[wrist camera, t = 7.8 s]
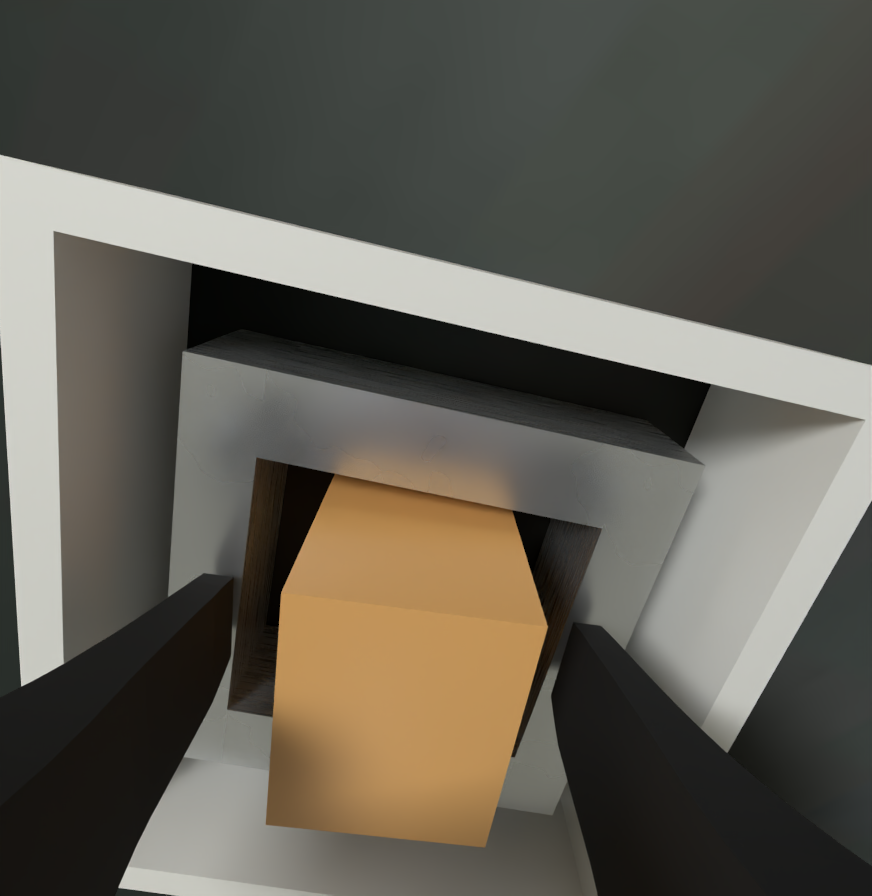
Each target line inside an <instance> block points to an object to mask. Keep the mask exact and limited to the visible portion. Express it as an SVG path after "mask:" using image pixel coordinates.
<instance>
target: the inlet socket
mask: <svg viewBox="0 0 872 896" xmlns="http://www.w3.org/2000/svg"><path fill="white" fill-rule="evenodd" d="M288 464H291V465H296V466H300V467H305V468H310V469H315V470H320V471H325V472H330V473H335V474H339V475H344V476H349V477H354V478H359V479H364V480H369V481H373V482H378V483H383V484H388V485H393V486H398V487H403V488H408V489H412V490H417V491H422V492H427V493H432V494H437V495H442V496H446V497H451V498H456V499H461V500H466V501H471V502H476V503H481V504H485V505H490V506H495V507H500V508H505V509H510V510H515V511H519V512H524V513H529V514H534V515H539V516H544V517H549V518H551V520H550V523H549V526H548V529H547V532H546V535H545V538H544V541H543V543H542V546H541V549H540V552H539V555H538V558H537V561H536V564H535V567H534V570H533V573H532V577H533V580H534V583H535V586H536V590H537V593H538V596H539V600H540V603H541V606H542V609H543V613H544V616H545V619H546V622H547V626H548V628H547V632H546V635H545V639H544V643H543V646H542V650H541V653H540V657H539V660H538V664H537V667H536V671H535V674H534V678H533V681H532V685H531V688H530V692H529V695H528V699H527V702H526V706H525V709H524V713H523V716H522V720H521V723H520V727H519V730H518V734H517V737H516V741H515V744H514V748H513V751H512V755H511V758H510V762H509V765H508V769H507V772H506V776H505V779H504V783H503V786H502V790H501V793H500V797H499V800H498V804H497V807H502V808H509V809H515V810H521V811H527V812H534V813H540V814H546V815H553V813H554V810H555V808H556V806H557V804H558V801H559V799H560V797H561V794H562V792H563V790H564V788H565V785H566V783H567V777H566V773H565V770H564V766H563V762H562V758H561V755H560V751H559V747H558V742H557V736H556V729H555V723H554V716H553V709H552V701H551V693H552V690H553V687H554V683H555V680H556V677H557V673H558V670H559V667H560V664H561V660H562V657H563V654H564V651H565V647H566V644H567V641H568V638H569V634H570V631H571V628H572V624H573V622H577V623H584V624H592V625H600V626H602V627H603V628H604V629H605V630H606V631H607V632H608V633H609V634H610V635H611V636H612V637H613V638H614V639H615V640H616V641H617V642H618V643H619V645H620V646H621V647H622V648H623V649H624V650H625V649H626V646H627V644H628V642H629V639H630V637H631V635H632V633H633V630H634V628H635V626H636V623H637V621H638V619H639V617H640V614H641V612H642V610H643V607H644V605H645V603H646V601H647V598H648V596H649V594H650V592H651V589H652V587H653V585H654V582H655V580H656V578H657V576H658V573H659V571H660V569H661V566H662V564H663V562H664V560H665V557H666V555H667V553H668V550H669V548H670V546H671V544H672V541H673V539H674V537H675V534H676V532H677V530H678V528H679V525H680V523H681V521H682V519H683V516H684V514H685V512H686V509H687V507H688V505H689V503H690V500H691V498H692V496H693V493H694V491H695V489H696V487H697V484H698V482H699V480H700V477H701V475H702V473H703V471H704V468H705V465H704V464H703V463H701V462H700V461H699V460H698V459H696V458H695V457H694V456H692V455H691V454H690V453H689V452H687V451H686V450H685V449H683V448H682V447H681V446H680V445H678V444H677V443H676V442H674V441H673V440H672V439H671V438H669V437H668V436H667V435H665V434H664V433H663V432H662V431H660V430H659V429H658V428H656V427H655V426H654V425H653V424H651V423H650V422H649V421H647V420H645V419H640V418H636V417H631V416H627V415H622V414H618V413H613V412H609V411H605V410H600V409H596V408H591V407H587V406H582V405H578V404H573V403H569V402H564V401H560V400H556V399H551V398H547V397H542V396H538V395H533V394H529V393H524V392H520V391H515V390H511V389H507V388H502V387H498V386H493V385H489V384H484V383H480V382H475V381H471V380H466V379H462V378H458V377H453V376H449V375H444V374H440V373H435V372H431V371H426V370H422V369H417V368H413V367H409V366H404V365H400V364H395V363H391V362H386V361H382V360H377V359H373V358H368V357H364V356H360V355H355V354H351V353H346V352H342V351H337V350H333V349H328V348H324V347H319V346H315V345H311V344H306V343H302V342H297V341H293V340H288V339H284V338H279V337H275V336H270V335H266V334H262V333H257V332H253V331H248V330H244V329H239V330H237V331H234V332H232V333H229V334H226V335H224V336H221V337H218V338H216V339H213V340H211V341H208V342H205V343H203V344H200V345H197V346H195V347H192V348H190V349H187V350H184V351H183V354H182V371H181V387H180V404H179V421H178V437H177V454H176V471H175V488H174V504H173V521H172V538H171V554H170V571H169V588H168V597H169V596H171V595H172V594H174V593H175V592H176V591H178V590H179V589H181V588H182V587H184V586H185V585H187V584H188V583H190V582H191V581H193V580H194V579H196V578H197V577H199V576H200V575H202V574H203V573H208V574H215V575H223V576H230V577H234V582H233V614H232V645H231V658H230V660H229V663H228V665H227V668H226V670H225V673H224V676H223V678H222V681H221V683H220V686H219V688H218V691H217V693H216V695H215V698H214V700H213V703H212V705H211V707H210V709H209V710H208V712H207V714H206V716H205V718H204V720H203V722H202V724H201V726H200V727H199V729H198V731H197V733H196V735H195V737H194V739H193V740H192V742H191V744H190V746H189V748H188V750H187V752H186V753H185V755H184V757H187V758H193V759H199V760H205V761H212V762H218V763H224V764H231V765H237V766H243V767H250V768H256V769H262V770H269V766H270V752H271V737H272V722H273V707H274V692H275V677H276V662H277V647H278V632H279V627H276V626H270V625H266V620H267V613H268V606H269V599H270V591H271V584H272V577H273V570H274V563H275V556H276V549H277V541H278V534H279V527H280V520H281V513H282V506H283V499H284V491H285V484H286V477H287V470H288Z"/></svg>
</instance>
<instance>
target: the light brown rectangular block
mask: <svg viewBox="0 0 872 896" xmlns="http://www.w3.org/2000/svg"><path fill="white" fill-rule="evenodd" d="M547 628H548V626H547V622H546V619H545V616H544V613H543V609H542V606H541V603H540V600H539V596H538V593H537V590H536V586H535V583H534V580H533V577H532V573H531V570H530V567H529V564H528V560H527V557H526V554H525V551H524V547H523V544H522V541H521V538H520V534H519V531H518V528H517V525H516V521H515V518H514V515H513V511H512V510H510V509H505V508H500V507H495V506H490V505H485V504H481V503H476V502H471V501H466V500H461V499H456V498H451V497H446V496H442V495H437V494H432V493H427V492H422V491H417V490H412V489H408V488H403V487H398V486H393V485H388V484H383V483H378V482H373V481H369V480H364V479H359V478H354V477H349V476H344V475H339V474H335V475H334V477H333V479H332V481H331V484H330V486H329V488H328V490H327V492H326V495H325V497H324V499H323V501H322V503H321V506H320V508H319V510H318V512H317V514H316V517H315V519H314V521H313V523H312V525H311V528H310V530H309V532H308V534H307V537H306V539H305V541H304V543H303V545H302V548H301V550H300V552H299V554H298V556H297V559H296V561H295V563H294V565H293V567H292V570H291V572H290V574H289V576H288V579H287V581H286V583H285V585H284V587H283V590H282V592H281V603H280V618H279V632H278V647H277V662H276V677H275V692H274V707H273V722H272V737H271V752H270V766H269V781H268V796H267V811H266V825H272V826H281V827H291V828H301V829H310V830H320V831H329V832H339V833H349V834H358V835H368V836H378V837H387V838H397V839H407V840H416V841H426V842H436V843H445V844H455V845H465V846H474V847H484V848H485V846H486V843H487V839H488V836H489V832H490V829H491V825H492V822H493V818H494V815H495V811H496V808H497V804H498V800H499V797H500V793H501V790H502V786H503V783H504V779H505V776H506V772H507V769H508V765H509V762H510V758H511V755H512V751H513V748H514V744H515V741H516V737H517V734H518V730H519V727H520V723H521V720H522V716H523V713H524V709H525V706H526V702H527V699H528V695H529V692H530V688H531V685H532V681H533V678H534V674H535V671H536V667H537V664H538V660H539V657H540V653H541V650H542V646H543V643H544V639H545V635H546V632H547Z"/></svg>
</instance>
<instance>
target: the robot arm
mask: <svg viewBox="0 0 872 896" xmlns="http://www.w3.org/2000/svg"><path fill="white" fill-rule="evenodd" d="M233 582H234V577H230V576H223V575H215V574H208V573H203V574H202V575H200V576H199V577H197V578H196V579H194V580H193V581H191V582H190V583H188V584H187V585H185V586H184V587H182V588H181V589H179V590H178V591H176V592H175V593H174V594H172V595H171V596H169V597H168V598H166V599H165V600H163V601H162V602H160V603H159V604H158V605H156V606H155V607H153V608H152V609H150V610H149V611H147V612H146V613H144V614H143V615H141V616H140V617H138V618H137V619H135V620H134V621H132V622H131V623H129V624H128V625H126V626H125V627H123V628H122V629H120V630H118V631H117V632H115V633H114V634H112V635H111V636H109V637H107V638H106V639H104V640H102V641H101V642H99V643H97V644H96V645H94V646H92V647H91V648H89V649H87V650H86V651H84V652H82V653H81V654H79V655H78V656H76V657H74V658H73V659H71V660H69V661H68V662H66V663H64V664H62V665H61V666H59V667H57V668H55V669H54V670H52V671H50V672H48V673H46V674H44V675H43V676H41V677H39V678H37V679H35V680H33V681H32V682H30V683H28V684H26V685H24V686H22V687H20V688H18V689H16V690H14V691H12V692H10V693H8V694H6V695H4V696H2V697H0V896H115V894H116V892H117V889H118V887H119V885H120V882H121V880H122V878H123V876H124V873H125V871H126V869H127V867H128V864H129V862H130V860H131V857H132V855H133V853H134V851H135V848H136V846H137V844H138V842H139V840H140V838H141V836H142V834H143V832H144V830H145V828H146V826H147V824H148V822H149V820H150V818H151V816H152V814H153V812H154V810H155V809H156V807H157V805H158V803H159V801H160V799H161V798H162V796H163V794H164V792H165V790H166V788H167V786H168V785H169V783H170V781H171V779H172V777H173V775H174V774H175V772H176V770H177V768H178V766H179V764H180V763H181V761H182V759H183V757H184V755H185V753H186V752H187V750H188V748H189V746H190V744H191V742H192V740H193V739H194V737H195V735H196V733H197V731H198V729H199V727H200V726H201V724H202V722H203V720H204V718H205V716H206V714H207V712H208V710H209V709H210V707H211V705H212V703H213V700H214V698H215V695H216V693H217V691H218V688H219V686H220V683H221V681H222V678H223V676H224V673H225V670H226V668H227V665H228V663H229V660H230V658H231V645H232V614H233ZM551 701H552V709H553V716H554V723H555V729H556V736H557V742H558V747H559V751H560V755H561V758H562V762H563V766H564V770H565V773H566V777H567V781H568V785H569V788H570V792H571V795H572V799H573V803H574V806H575V810H576V814H577V817H578V821H579V825H580V828H581V832H582V835H583V839H584V843H585V846H586V850H587V854H588V857H589V861H590V865H591V869H592V873H593V877H594V882H595V886H596V890H597V895H598V896H872V866H871V865H869V864H868V863H866V862H865V861H864V860H862V859H861V858H859V857H858V856H857V855H855V854H854V853H852V852H851V851H849V850H848V849H847V848H845V847H844V846H842V845H841V844H840V843H838V842H837V841H836V840H834V839H833V838H832V837H830V836H829V835H828V834H826V833H825V832H824V831H822V830H821V829H820V828H818V827H817V826H816V825H814V824H813V823H812V822H810V821H809V820H808V819H806V818H805V817H804V816H802V815H801V814H800V813H798V812H797V811H796V810H795V809H793V808H792V807H791V806H790V805H788V804H787V803H786V802H784V801H783V800H782V799H781V798H779V797H778V796H777V795H776V794H775V793H773V792H772V791H771V790H770V789H769V788H767V787H766V786H765V785H764V784H763V783H761V782H760V781H759V780H758V779H757V778H755V777H754V776H753V775H752V774H751V773H750V772H748V771H747V770H746V769H745V768H744V767H742V766H741V765H740V764H739V763H738V762H737V761H736V760H734V759H733V758H732V757H731V756H730V755H729V754H728V753H727V752H725V751H724V750H723V749H722V748H721V747H720V746H719V745H718V744H717V743H716V742H715V741H714V740H713V739H711V738H710V737H709V736H708V735H707V734H706V733H705V732H704V731H703V730H702V729H701V728H700V727H699V726H698V725H697V724H696V723H695V722H693V721H692V720H691V719H690V718H689V717H688V716H687V715H686V714H685V713H684V712H683V711H682V710H681V709H680V708H679V707H678V706H677V705H676V704H675V703H674V702H673V701H672V700H671V699H670V697H669V696H668V695H667V694H666V693H665V692H664V691H663V690H662V689H661V688H660V687H659V686H658V685H657V684H656V683H655V682H654V681H653V680H652V679H651V678H650V677H649V676H648V675H647V673H646V672H645V671H644V670H643V669H642V668H641V667H640V666H639V665H638V664H637V663H636V662H635V661H634V660H633V658H632V657H631V656H630V655H629V654H628V653H627V652H626V651H625V650H624V649H623V648H622V647H621V646H620V645H619V643H618V642H617V641H616V640H615V639H614V638H613V637H612V636H611V635H610V634H609V633H608V632H607V631H606V630H605V629H604V628H603V627H602V626H600V625H592V624H584V623H577V622H573V624H572V628H571V631H570V634H569V638H568V641H567V644H566V647H565V651H564V654H563V657H562V660H561V664H560V667H559V670H558V673H557V677H556V680H555V683H554V687H553V690H552V693H551Z"/></svg>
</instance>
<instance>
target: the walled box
mask: <svg viewBox="0 0 872 896" xmlns="http://www.w3.org/2000/svg"><path fill="white" fill-rule="evenodd" d="M192 263H194V264H198V265H202V266H207V267H211V268H215V269H220V270H224V271H228V272H232V273H237V274H241V275H245V276H250V277H254V278H258V279H263V280H267V281H271V282H275V283H280V284H284V285H288V286H293V287H297V288H301V289H306V290H310V291H314V292H318V293H323V294H327V295H331V296H336V297H340V298H344V299H349V300H353V301H357V302H361V303H366V304H370V305H374V306H379V307H383V308H387V309H391V310H396V311H400V312H404V313H409V314H413V315H417V316H422V317H426V318H430V319H434V320H439V321H443V322H447V323H452V324H456V325H460V326H465V327H469V328H473V329H477V330H482V331H486V332H490V333H495V334H499V335H503V336H508V337H512V338H516V339H520V340H525V341H529V342H533V343H538V344H542V345H546V346H550V347H555V348H559V349H563V350H568V351H572V352H576V353H581V354H585V355H589V356H593V357H598V358H602V359H606V360H611V361H615V362H619V363H624V364H628V365H632V366H636V367H641V368H645V369H649V370H654V371H658V372H662V373H667V374H671V375H675V376H679V377H684V378H688V379H692V380H697V381H701V382H705V383H710V384H711V386H710V388H709V391H708V393H707V395H706V398H705V400H704V403H703V405H702V407H701V410H700V412H699V415H698V417H697V419H696V422H695V424H694V427H693V429H692V431H691V434H690V436H689V438H688V441H687V443H686V446H685V448H684V449H685V450H686V451H687V452H689V453H690V454H691V455H692V456H694V457H695V458H696V459H698V460H699V461H700V462H701V463H703V464H704V465H705V468H704V471H703V473H702V475H701V477H700V480H699V482H698V484H697V487H696V489H695V491H694V493H693V496H692V498H691V500H690V503H689V505H688V507H687V509H686V512H685V514H684V516H683V519H682V521H681V523H680V525H679V528H678V530H677V532H676V534H675V537H674V539H673V541H672V544H671V546H670V548H669V550H668V553H667V555H666V557H665V560H664V562H663V564H662V566H661V569H660V571H659V573H658V576H657V578H656V580H655V582H654V585H653V587H652V589H651V592H650V594H649V596H648V598H647V601H646V603H645V605H644V607H643V610H642V612H641V614H640V617H639V619H638V621H637V623H636V626H635V628H634V630H633V633H632V635H631V637H630V639H629V642H628V644H627V646H626V649H625V651H626V652H627V653H628V654H629V655H630V656H631V657H632V658H633V660H634V661H635V662H636V663H637V664H638V665H639V666H640V667H641V668H642V669H643V670H644V671H645V672H646V673H647V675H648V676H649V677H650V678H651V679H652V680H653V681H654V682H655V683H656V684H657V685H658V686H659V687H660V688H661V689H662V690H663V691H664V692H665V693H666V694H667V695H668V696H669V697H670V699H671V700H672V701H673V702H674V703H675V704H676V705H677V706H678V707H679V708H680V709H681V710H682V711H683V712H684V713H685V714H686V715H687V716H688V717H689V718H690V719H691V720H692V721H693V722H695V723H696V724H697V725H698V726H699V727H700V728H701V729H702V730H703V731H704V732H705V733H706V734H707V735H708V736H709V737H710V738H711V739H713V740H714V741H715V742H716V743H717V744H718V745H719V746H720V747H721V748H722V749H723V750H724V751H725V752H727V753H728V751H729V749H730V748H731V746H732V744H733V742H734V741H735V739H736V737H737V735H738V734H739V732H740V730H741V728H742V727H743V725H744V723H745V721H746V720H747V718H748V716H749V714H750V713H751V711H752V709H753V707H754V706H755V704H756V702H757V700H758V699H759V697H760V695H761V693H762V692H763V690H764V688H765V686H766V685H767V683H768V681H769V679H770V678H771V676H772V674H773V672H774V671H775V669H776V667H777V665H778V664H779V662H780V660H781V658H782V657H783V655H784V653H785V651H786V650H787V648H788V646H789V644H790V643H791V641H792V639H793V637H794V636H795V634H796V632H797V630H798V629H799V627H800V625H801V623H802V621H803V620H804V618H805V616H806V614H807V613H808V611H809V609H810V607H811V606H812V604H813V602H814V600H815V599H816V597H817V595H818V593H819V592H820V590H821V588H822V586H823V585H824V583H825V581H826V579H827V578H828V576H829V574H830V572H831V571H832V569H833V567H834V565H835V564H836V562H837V560H838V558H839V557H840V555H841V553H842V551H843V550H844V548H845V546H846V544H847V543H848V541H849V539H850V537H851V536H852V534H853V532H854V530H855V529H856V527H857V525H858V523H859V522H860V520H861V518H862V516H863V515H864V513H865V511H866V509H867V508H868V506H869V504H870V502H871V501H872V365H868V364H864V363H860V362H856V361H852V360H848V359H844V358H840V357H836V356H833V355H829V354H825V353H821V352H817V351H813V350H809V349H805V348H801V347H797V346H793V345H789V344H785V343H781V342H777V341H773V340H769V339H765V338H761V337H757V336H753V335H748V334H744V333H740V332H736V331H732V330H728V329H724V328H720V327H715V326H711V325H707V324H703V323H699V322H695V321H691V320H686V319H682V318H678V317H674V316H670V315H666V314H662V313H658V312H653V311H649V310H645V309H641V308H637V307H633V306H629V305H625V304H620V303H616V302H612V301H608V300H604V299H600V298H596V297H592V296H587V295H583V294H579V293H575V292H571V291H567V290H563V289H559V288H554V287H550V286H546V285H542V284H538V283H534V282H530V281H525V280H521V279H517V278H513V277H509V276H505V275H501V274H497V273H492V272H488V271H484V270H480V269H476V268H472V267H468V266H464V265H459V264H455V263H451V262H447V261H443V260H439V259H435V258H431V257H426V256H422V255H418V254H414V253H410V252H406V251H402V250H397V249H393V248H389V247H385V246H381V245H377V244H373V243H369V242H364V241H360V240H356V239H352V238H348V237H344V236H340V235H336V234H331V233H327V232H323V231H319V230H315V229H311V228H307V227H303V226H298V225H294V224H290V223H286V222H282V221H278V220H274V219H269V218H265V217H261V216H257V215H253V214H249V213H245V212H241V211H236V210H232V209H228V208H224V207H220V206H216V205H212V204H208V203H203V202H199V201H195V200H191V199H187V198H183V197H179V196H175V195H170V194H166V193H162V192H158V191H154V190H149V189H145V188H141V187H136V186H132V185H128V184H123V183H119V182H115V181H110V180H106V179H102V178H97V177H93V176H89V175H84V174H80V173H76V172H71V171H67V170H63V169H58V168H54V167H50V166H45V165H41V164H37V163H32V162H28V161H24V160H19V159H15V158H11V157H6V156H2V155H0V337H1V354H2V371H3V387H4V404H5V421H6V437H7V454H8V471H9V487H10V504H11V521H12V537H13V554H14V571H15V587H16V604H17V621H18V637H19V654H20V671H21V687H22V686H24V685H26V684H28V683H30V682H32V681H33V680H35V679H37V678H39V677H41V676H43V675H44V674H46V673H48V672H50V671H52V670H54V669H55V668H57V667H59V666H61V665H62V664H64V663H66V662H68V661H69V660H71V659H73V658H74V657H76V656H78V655H79V654H81V653H82V652H84V651H86V650H87V649H89V648H91V647H92V646H94V645H96V644H97V643H99V642H101V641H102V640H104V639H106V638H107V637H109V636H111V635H112V634H114V633H115V632H117V631H118V630H120V629H122V628H123V627H125V626H126V625H128V624H129V623H131V622H132V621H134V620H135V619H137V618H138V617H140V616H141V615H143V614H144V613H146V612H147V611H149V610H150V609H152V608H153V607H155V606H156V605H158V604H159V603H160V602H162V601H163V600H165V599H166V598H168V588H169V571H170V554H171V538H172V521H173V504H174V488H175V471H176V454H177V437H178V421H179V404H180V387H181V371H182V354H183V351H184V350H187V338H188V322H189V306H190V290H191V274H192ZM268 781H269V770H262V769H256V768H250V767H243V766H237V765H231V764H224V763H218V762H212V761H205V760H199V759H193V758H187V757H183V759H182V761H181V763H180V764H179V766H178V768H177V770H176V772H175V774H174V775H173V777H172V779H171V781H170V783H169V785H168V786H167V788H166V790H165V792H164V794H163V796H162V798H161V799H160V801H159V803H158V805H157V807H156V809H155V810H154V812H153V814H152V816H151V818H150V820H149V822H148V824H147V826H146V828H145V830H144V832H143V834H142V836H141V838H140V840H139V842H138V844H137V846H136V848H135V851H134V853H133V855H132V857H131V860H130V862H129V864H128V867H127V869H126V871H125V873H124V876H123V878H122V880H121V882H120V885H119V887H118V888H125V889H132V890H140V891H147V892H154V893H161V894H169V895H176V896H598V895H597V890H596V886H595V882H594V877H593V873H592V869H591V865H590V861H589V857H588V854H587V850H586V846H585V843H584V839H583V835H582V832H581V828H580V825H579V821H578V817H577V814H576V810H575V806H574V803H573V799H572V795H571V792H570V788H569V785H568V781H567V783H566V785H565V788H564V790H563V792H562V794H561V797H560V799H559V801H558V804H557V806H556V808H555V810H554V813H553V815H546V814H540V813H534V812H527V811H521V810H515V809H509V808H502V807H497V808H496V811H495V815H494V818H493V822H492V825H491V829H490V832H489V836H488V839H487V843H486V846H485V848H484V847H474V846H465V845H455V844H445V843H436V842H426V841H416V840H407V839H397V838H387V837H378V836H368V835H358V834H349V833H339V832H329V831H320V830H310V829H301V828H291V827H281V826H272V825H266V811H267V796H268Z"/></svg>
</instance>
